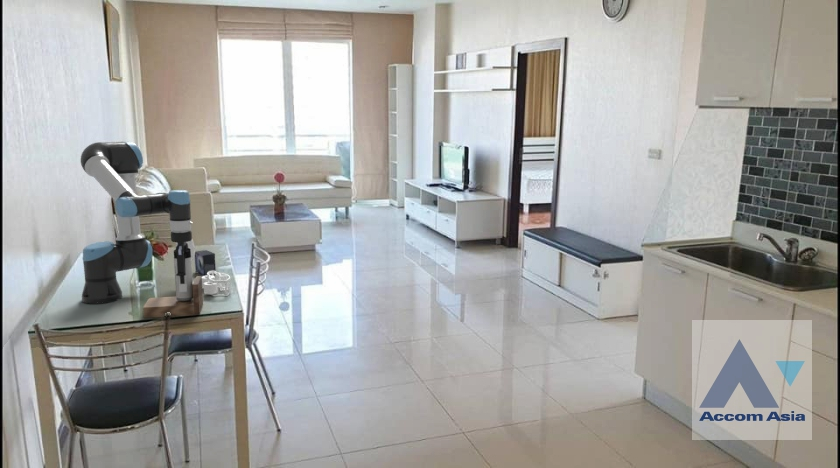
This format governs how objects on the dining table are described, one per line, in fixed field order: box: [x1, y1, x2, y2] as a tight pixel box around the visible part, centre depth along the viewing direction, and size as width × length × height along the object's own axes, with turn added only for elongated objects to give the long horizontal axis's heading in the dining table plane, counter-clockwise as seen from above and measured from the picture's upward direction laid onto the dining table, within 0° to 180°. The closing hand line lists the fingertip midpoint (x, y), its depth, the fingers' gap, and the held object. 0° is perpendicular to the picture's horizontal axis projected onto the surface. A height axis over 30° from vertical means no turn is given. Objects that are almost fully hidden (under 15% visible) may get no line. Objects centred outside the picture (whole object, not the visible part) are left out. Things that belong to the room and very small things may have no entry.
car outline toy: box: [201, 270, 232, 298], centre depth 270 cm, size 20×11×7 cm, turn 24°
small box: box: [194, 249, 217, 276], centre depth 301 cm, size 11×6×10 cm, turn 42°
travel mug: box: [173, 248, 194, 301], centre depth 242 cm, size 6×7×20 cm
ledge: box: [142, 275, 204, 318], centre depth 243 cm, size 20×13×12 cm, turn 103°
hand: (184, 289), depth 243 cm, fingers closed on travel mug, 6 cm apart
